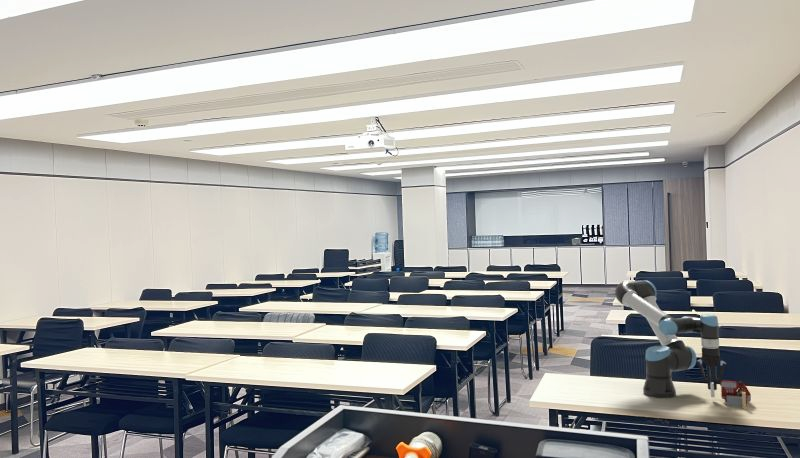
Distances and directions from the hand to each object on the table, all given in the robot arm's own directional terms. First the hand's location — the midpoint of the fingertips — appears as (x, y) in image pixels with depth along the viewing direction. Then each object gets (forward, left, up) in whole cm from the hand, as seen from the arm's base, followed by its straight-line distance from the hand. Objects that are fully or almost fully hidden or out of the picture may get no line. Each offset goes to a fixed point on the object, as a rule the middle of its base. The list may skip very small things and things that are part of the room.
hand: (712, 396), depth 272 cm
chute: (+10, 0, -2) cm, 10 cm away
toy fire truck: (+9, 0, -2) cm, 10 cm away
